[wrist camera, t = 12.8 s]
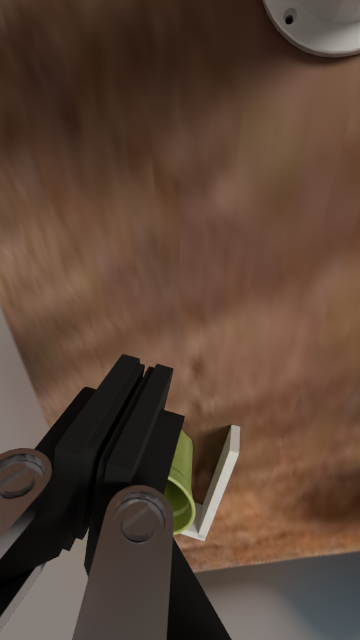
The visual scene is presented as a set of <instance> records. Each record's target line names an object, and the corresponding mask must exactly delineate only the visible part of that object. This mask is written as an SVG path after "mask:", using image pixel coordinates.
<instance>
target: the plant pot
mask: <svg viewBox="0 0 360 640" xmlns="http://www.w3.org/2000/svg"><path fill="white" fill-rule="evenodd" d="M192 453H193V445H192V441H191V439H190V437H188V436H187V435H186V434H185V433H184V432H183V430H182V429H181V433H180V436H179V440H178V444H177V447H176V451H175V455H174V459H173V462H172V466H171V470H170V473H169V477H168V481H167V484H166V488H165V492H164V497H165V498H166V499H167V500H168V501H169V503H170V506H171V508H172V510H173V517H174V528H173V535H176V534H179V533H182V532H183V531H185V530H186V529H188V528H189V527H190V526H191V524H192V523H193V521H194V518H195V511H196V510H195V503H194V500H193V498H192V491H191V473H192Z"/></svg>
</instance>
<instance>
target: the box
mask: <svg viewBox="0 0 360 640" xmlns="http://www.w3.org/2000/svg"><path fill="white" fill-rule="evenodd" d="M239 442H240V427H238V426H235V425H231V428H230V430H229V433H228V436H227V439H226V441H225V444H224V447H223V450H222V453H221V455H220V458H219V461H218V464H217V466H216V469H215V472H214V475H213V477H212V480H211V483H210V486H209V489H208V491H207V494H206V497H205V500H204V502H203V505H202V504H199V503H195V502H194V503H195V510H196V511H195V518H194V521H193V523H192V524H191V526H190V527H189V528H188V529H186V530H185V531H183V532H182V533H181V534H184V535H187V536H190V537H193V538H196V539H199V540H202V541H205V539H206V536H207V534H208V531H209V529H210V526H211V523H212V521H213V518H214V516H215V513H216V511H217V508H218V506H219V503H220V501H221V498H222V496H223V493H224V490H225V488H226V485H227V483H228V480H229V478H230V475H231V473H232V470H233V468H234V465H235V463H236V460H237V457H238V455H239Z"/></svg>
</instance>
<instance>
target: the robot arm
mask: <svg viewBox="0 0 360 640" xmlns="http://www.w3.org/2000/svg"><path fill="white" fill-rule="evenodd" d="M262 2H263V4H264V7H265V10H266V12H267V15H268V16H269V18H270V20H271V21H272V23H273V24H274V26H275V28H276V29H277V31H278V32H279V33H280V34H281V35H282V36H283V37H284V38H285V39H286V40H287V41H288V42H289V43H291V44H292V45H294V46H296V47H297V48H299V49H301V50H302V51H304V52H307V53H310V54H313V55H316V56H320V57H334V58H339V57H345V56H352V55H357V54H360V0H262ZM287 18H291V19H292V20H293V22H292V23H291V24H289V25H288V24H286V22H285V20H286V19H287ZM144 368H145V365H143V364H140V359H139V358H135V357H132V356H128V355H125V354H122V355H121V357H120V358H119V359H118V361H117V362H116V364H115V365H114V366H113V368H112V369H111V370H110V372H109V373H108V375H107V376H106V377H105V379H104V380H103V381H102V383H101V384H100V386H99V387H98V388H97V390H96V389H93V388H89V387H84V388H83V389H82V390H81V391H80V392H79V394H78V395H77V396H76V398H75V399H74V400H73V401H72V403H71V404H70V405H69V406H68V408H67V409H66V410H65V411H64V413H63V414H62V415H61V416H60V418H59V419H58V420H57V421H56V423H55V424H54V425H53V426H52V428H51V429H50V430H49V431H48V433H47V434H46V435H45V436H44V438H43V439H42V440H41V441H40V443H39V444H38V445H37V446H36V448H35V449H28V448H19V449H14V450H9V451H7V452H4V453H2V454H0V632H1V630H2V629H3V627H4V626H5V624H6V623H7V621H8V620H9V618H10V617H11V616H12V614H13V613H14V611H15V610H16V608H17V607H18V605H19V604H20V603H21V601H22V600H23V598H24V597H25V595H26V594H27V592H28V591H29V589H30V588H31V587H32V585H33V583H34V582H35V581H36V579H37V578H38V576H39V575H40V573H41V572H42V570H43V568H44V566H45V564H46V562H47V561H50V560H52V559H54V558H56V557H58V556H59V555H60V553H61V551H62V549H65V550H68V551H70V549H71V547H72V545H73V543H74V541H75V539H76V538H78V539H81V540H82V539H83V538H84V536H85V534H86V532H87V530H88V528H89V532H88V540H87V547H86V555H85V562H84V566H85V569H86V572H87V575H88V582H87V585H86V589H85V593H84V597H83V600H82V604H81V608H80V612H79V615H78V620H77V623H76V627H75V630H74V634H73V638H72V640H231V638H230V636H229V634H228V633H227V631H226V629H225V627H224V626H223V624H222V622H221V620H220V619H219V617H218V615H217V613H216V612H215V610H214V608H213V606H212V605H211V603H210V601H209V599H208V598H207V596H206V594H205V592H204V591H203V589H202V587H201V585H200V583H199V582H198V580H197V578H196V576H195V575H194V573H193V571H192V569H191V568H190V566H189V564H188V562H187V561H186V559H185V557H184V555H183V554H182V552H181V550H180V548H179V547H178V545H177V543H176V541H175V540H174V538H173V528H174V517H173V510H172V508H171V506H170V503H169V501H168V500H167V499H166V498H165V497H164V492H165V488H166V484H167V481H168V477H169V473H170V470H171V466H172V462H173V459H174V455H175V451H176V447H177V444H178V440H179V436H180V433H181V429H182V425H183V422H184V418H185V416H182V415H179V414H176V413H173V412H169V411H166V410H164V408H165V404H166V400H167V395H168V391H169V387H170V383H171V378H172V374H173V368H170V367H166V366H163V365H160V364H156V366H155V368H153V367H150V366H149V367H148V369H147V371H146V373H145V375H144V377H143V373H144Z"/></svg>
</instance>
